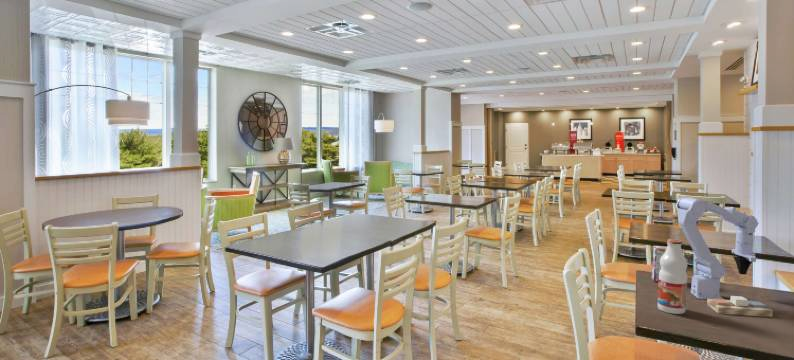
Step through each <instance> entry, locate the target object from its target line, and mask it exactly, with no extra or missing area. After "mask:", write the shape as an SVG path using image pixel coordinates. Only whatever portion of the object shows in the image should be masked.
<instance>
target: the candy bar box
mask: <svg viewBox="0 0 794 360" xmlns="http://www.w3.org/2000/svg"><path fill="white" fill-rule="evenodd" d="M652 249H653V253H652V265H651V267H652V268H651V269H652V270H651V279H652V282H654V283H659V271H660V270H661V265H660V258H661V257H662V255H663V254H664V253H665V251H666V249H667V246H661V245H653V248H652ZM681 250H682V253H683V249H682V248H681Z"/></svg>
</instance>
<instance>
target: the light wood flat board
mask: <svg viewBox="0 0 794 360" xmlns="http://www.w3.org/2000/svg"><path fill="white" fill-rule="evenodd" d="M725 300H726V301H728V302H729V303H730V306H722V305H716V304H715V303H714V302H713V299H706V305H707V306H708V307H709V308H711V310H713V311H715V313H716V314H720V315H734V316H735V315H736V316H737V315H739V316H752V317H755V316H756V317H765V318H773V315H774V310H773V309H771V308H770V307H769V306H766V308H754V307H752V306H750V305H749V304H748V306H735V305H734V304H732V303H731V302H730V299H725Z"/></svg>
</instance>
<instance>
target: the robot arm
mask: <svg viewBox="0 0 794 360" xmlns="http://www.w3.org/2000/svg"><path fill="white" fill-rule="evenodd" d="M675 209H676V210H677V221H678V225H679V227H680V229H681V230H682V232H683V234H684V236H685V238H686V240H687V242H688V244H689V246H690V247H691V249H692V251H693V252H694V256H695V257H694V258H693V261H694V262H695V263H694V265H695V269H696V271H697V273H698V274H694V275H692V276H691V287H690V293H691V294H692V295H693V296H695V297H696V298H697V299H700V300H707V299H724V298H723V297H722V296H721V295H720V285H721V279H722V277H724V276H725V274H726V267H725V265H724V264H722V263H721V262H720V260H719V259H718V258H717V257H716V256H714V255H713V254H712V252H711V251H710V248H709V247H708V244H707V243H706V241H705V239H704V237H703V234H702V233H701V232H700V229H699V227H698V226H697V223H696V222H698V221H699V219H700V218H701V217H702V216H703V215H704V214H705V212H706V213H707V212H710V213H713V214H716V215H717V216H718V215H719V216H720V218H721V220H723V221H725V222H728V223H730V224H733V225H734V226H735V227H736V232H735V233H736V234H735V246H734V247H735V248H732V249H731V253H732V254H734V255H735V256H734V255H733V259H734V261H735V264H736V266H737V267H736V268H737V271H738V274H739V275H747V273H748V270H749V268H750V266H751V265H752V263H756V262H757V257H756V253H755V252H753V251H754V249H753V248H754V237H755V236H754V234H755V232H756V229H757V227H758V225H759V222H758V219H757V218H756V216H754V215H750V214H746V212H745V211H740V210H737V208H736V207H733V206H730V207H722V206H719V205H717V204H715V203H713V202H711V201H709V200H705V199H701V198H692V197H690V196H689V197H688V196H681V197H680V198H679V199H678V200H677V202H676V204H675ZM736 255H737V256H736Z"/></svg>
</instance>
